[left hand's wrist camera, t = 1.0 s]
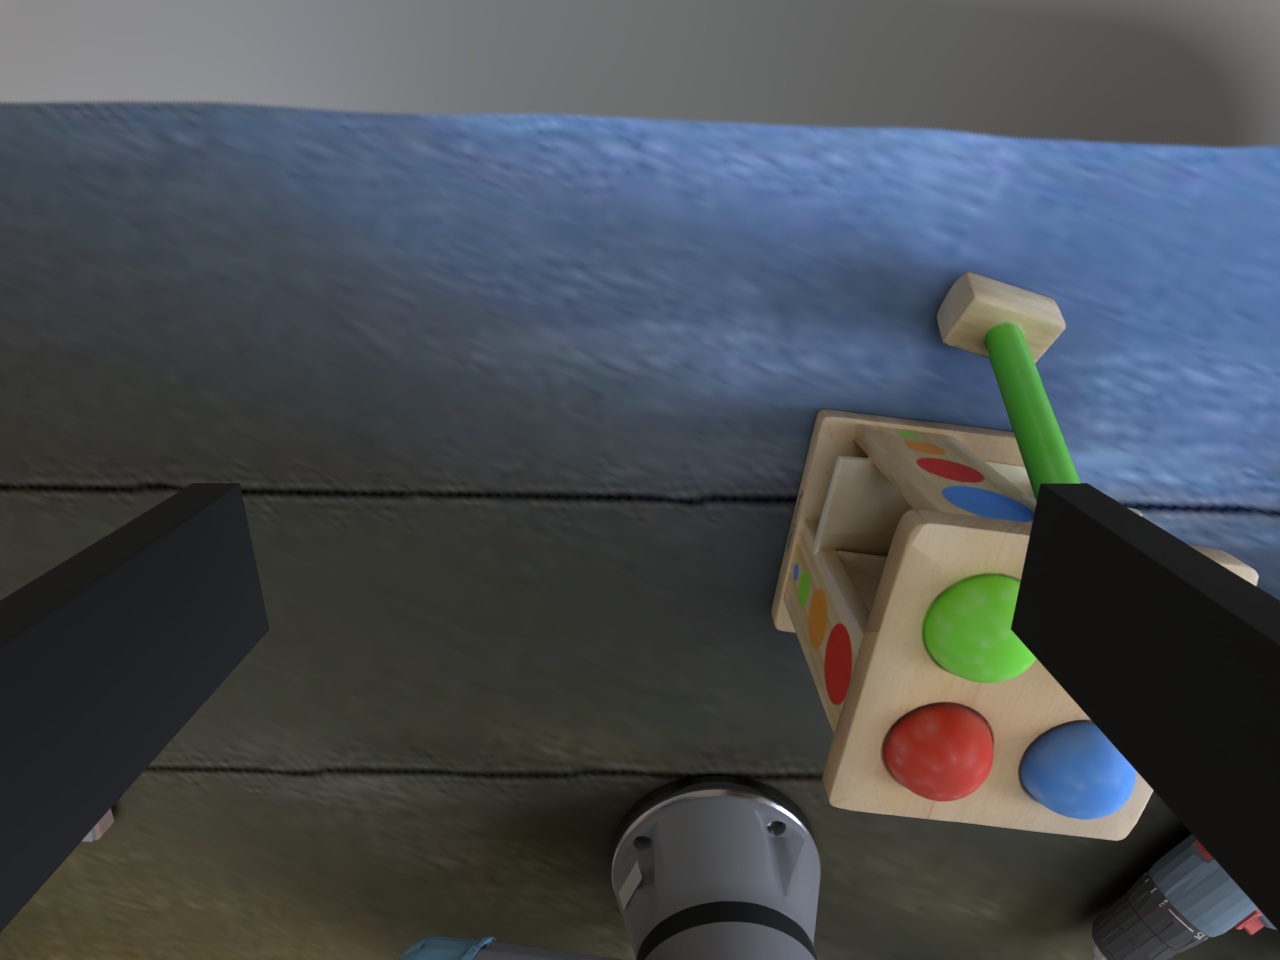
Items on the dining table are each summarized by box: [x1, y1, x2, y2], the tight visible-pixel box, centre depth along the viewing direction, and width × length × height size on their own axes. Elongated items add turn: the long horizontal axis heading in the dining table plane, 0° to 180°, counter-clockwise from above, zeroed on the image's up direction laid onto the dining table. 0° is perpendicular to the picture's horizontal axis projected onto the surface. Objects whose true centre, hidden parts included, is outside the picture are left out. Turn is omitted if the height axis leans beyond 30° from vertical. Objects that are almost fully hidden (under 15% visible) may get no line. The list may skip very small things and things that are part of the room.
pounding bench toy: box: [771, 272, 1259, 841], centre depth 35 cm, size 23×14×18 cm, turn 172°
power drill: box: [1091, 834, 1277, 960], centre depth 54 cm, size 5×19×20 cm
